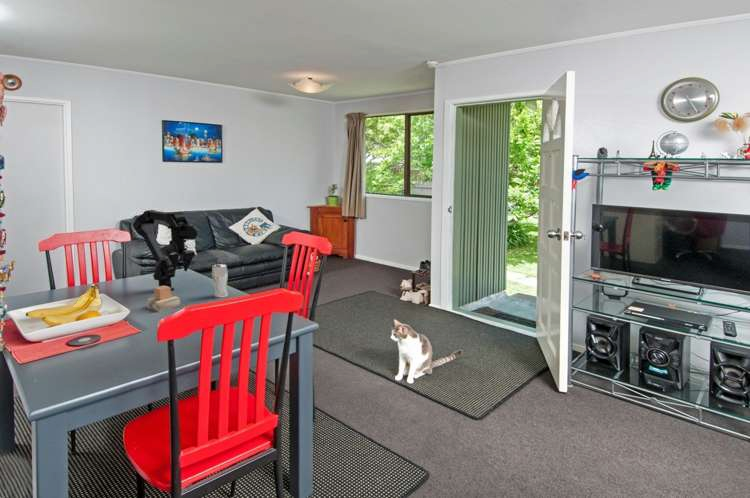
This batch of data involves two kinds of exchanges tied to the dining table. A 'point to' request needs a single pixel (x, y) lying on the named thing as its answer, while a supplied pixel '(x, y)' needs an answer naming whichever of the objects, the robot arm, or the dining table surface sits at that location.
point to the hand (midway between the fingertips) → (180, 269)
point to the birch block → (163, 303)
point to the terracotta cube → (162, 292)
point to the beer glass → (220, 279)
